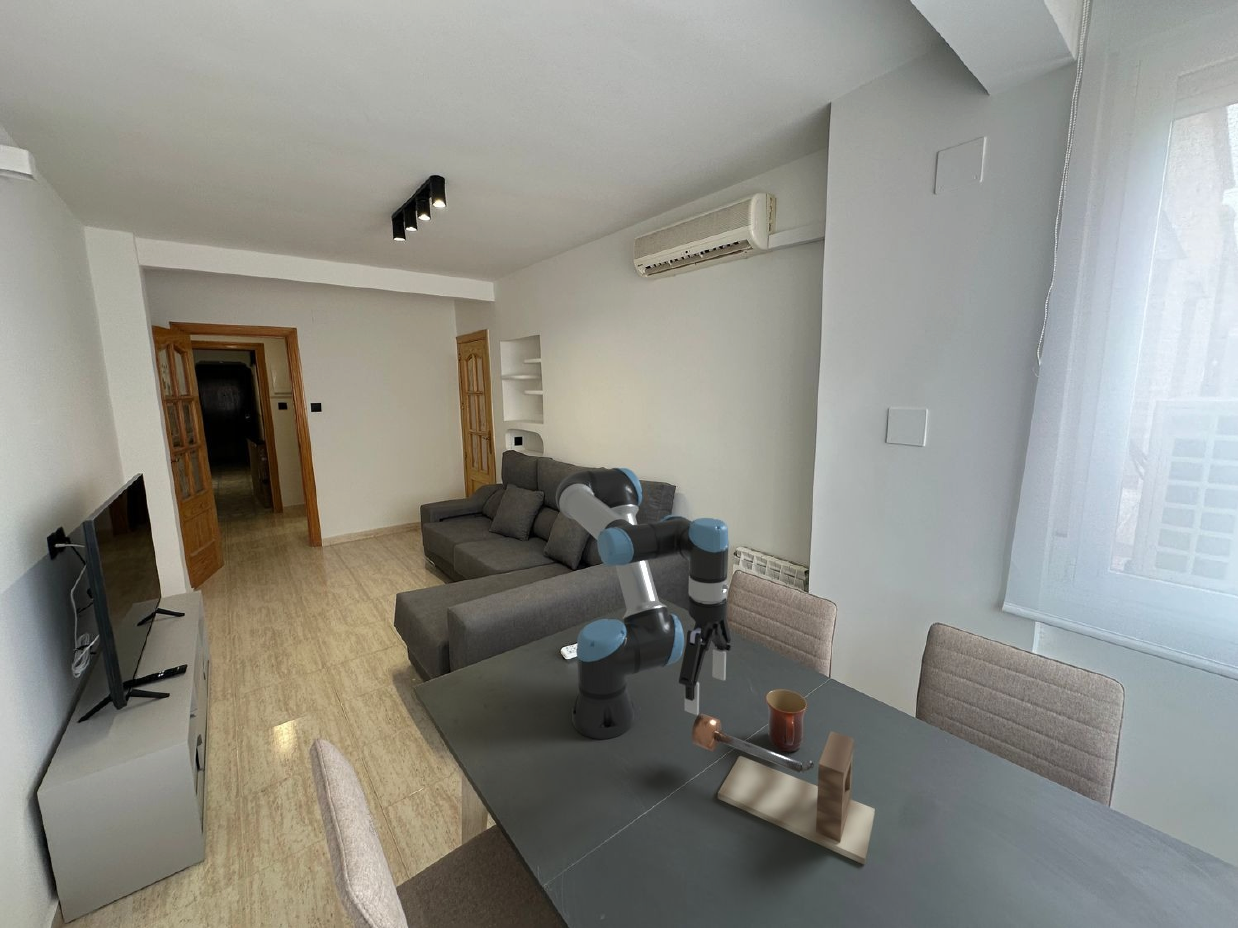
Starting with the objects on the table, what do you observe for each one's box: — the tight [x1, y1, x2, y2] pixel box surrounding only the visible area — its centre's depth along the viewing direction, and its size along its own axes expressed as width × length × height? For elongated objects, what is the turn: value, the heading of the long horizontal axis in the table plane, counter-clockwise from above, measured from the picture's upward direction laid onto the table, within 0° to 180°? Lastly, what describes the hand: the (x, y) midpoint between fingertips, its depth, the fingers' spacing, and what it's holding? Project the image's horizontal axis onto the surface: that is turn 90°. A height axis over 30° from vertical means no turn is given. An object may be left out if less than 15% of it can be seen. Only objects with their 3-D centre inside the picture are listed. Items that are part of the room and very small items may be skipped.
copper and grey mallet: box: [691, 712, 815, 774], centre depth 100 cm, size 24×6×6 cm, turn 56°
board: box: [717, 755, 876, 866], centre depth 96 cm, size 26×12×1 cm, turn 56°
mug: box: [765, 688, 808, 753], centre depth 111 cm, size 12×9×10 cm
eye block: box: [816, 730, 855, 842], centre depth 91 cm, size 4×10×13 cm, turn 146°
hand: (705, 694), depth 104 cm, fingers open, 13 cm apart
